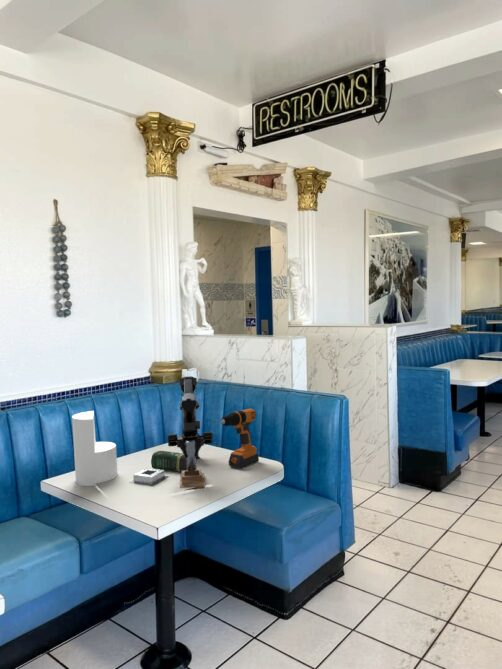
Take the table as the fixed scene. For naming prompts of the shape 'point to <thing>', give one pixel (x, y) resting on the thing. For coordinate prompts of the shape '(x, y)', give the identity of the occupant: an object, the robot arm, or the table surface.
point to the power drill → (242, 438)
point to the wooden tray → (192, 479)
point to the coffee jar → (169, 461)
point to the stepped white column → (91, 452)
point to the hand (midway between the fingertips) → (191, 457)
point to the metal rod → (191, 455)
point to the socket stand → (149, 477)
